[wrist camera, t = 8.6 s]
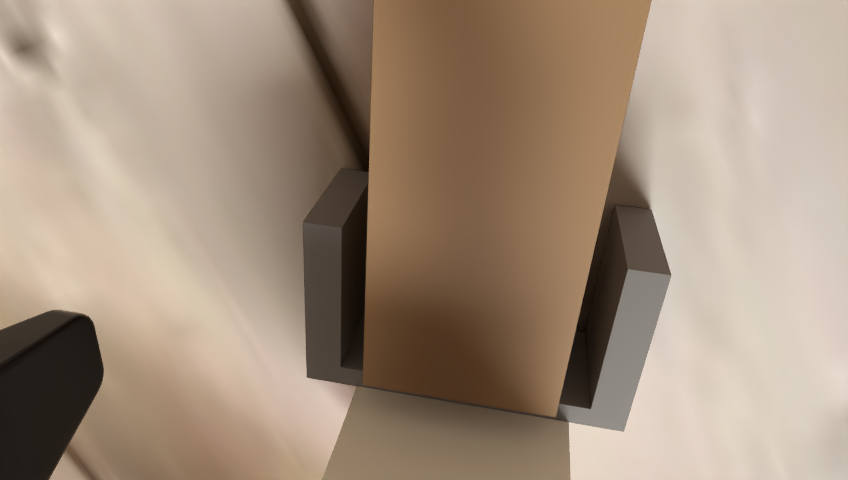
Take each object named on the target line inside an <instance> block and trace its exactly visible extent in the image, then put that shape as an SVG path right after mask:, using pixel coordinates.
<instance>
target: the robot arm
mask: <svg viewBox="0 0 848 480" xmlns="http://www.w3.org/2000/svg"><path fill="white" fill-rule="evenodd" d="M103 373H104V368H103V362H102V358H101V353H100V349H99V344H98V340H97V335H96V331H95V327H94V323H93V321H92V320H91V319H90V318H89V316H87V315H85V314H81V313H75V312H69V311H63V310H51V311H48V312H45V313H43V314H40V315H38V316H35V317H32V318H30V319H27V320H25V321H22V322H19V323H17V324H14V325H12V326H9V327H7V328H4V329H1V330H0V480H49V479H50V477H51V475H52V473H53V471H54V470H55V468H56V466H57V464H58V462H59V461H60V459H61V457H62V455H63V453H64V452H65V450H66V448H67V446H68V444H69V443H70V441H71V439H72V437H73V436H74V434H75V432H76V430H77V428H78V427H79V425H80V423H81V421H82V419H83V418H84V416H85V414H86V412H87V410H88V409H89V407H90V405H91V403H92V401H93V400H94V398H95V396H96V394H97V392H98V391H99V388H100V386H101V383H102V380H103Z"/></svg>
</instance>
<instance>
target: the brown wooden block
mask: <svg viewBox="0 0 848 480" xmlns="http://www.w3.org/2000/svg"><path fill="white" fill-rule="evenodd" d="M650 5H651V0H374V12H373V46H372V81H371V115H370V150H369V185H368V219H367V254H366V288H365V323H364V357H363V385H366V386H372V387H378V388H384V389H390V390H396V391H402V392H408V393H414V394H420V395H426V396H432V397H438V398H444V399H450V400H456V401H462V402H468V403H474V404H480V405H485V406H491V407H497V408H503V409H509V410H515V411H521V412H527V413H533V414H539V415H545V416H551V417H556V414H557V410H558V405H559V401H560V396H561V392H562V388H563V383H564V379H565V375H566V370H567V366H568V362H569V357H570V353H571V349H572V344H573V340H574V336H575V331H576V327H577V322H578V318H579V314H580V309H581V305H582V301H583V296H584V292H585V288H586V283H587V279H588V275H589V270H590V266H591V262H592V257H593V253H594V249H595V244H596V240H597V235H598V231H599V227H600V222H601V218H602V214H603V209H604V205H605V201H606V196H607V192H608V188H609V183H610V179H611V175H612V170H613V166H614V161H615V157H616V153H617V148H618V144H619V140H620V135H621V131H622V127H623V122H624V118H625V114H626V109H627V105H628V101H629V96H630V92H631V87H632V83H633V79H634V74H635V70H636V66H637V61H638V57H639V53H640V48H641V44H642V40H643V35H644V31H645V27H646V22H647V18H648V14H649V9H650Z"/></svg>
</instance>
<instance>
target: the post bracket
mask: <svg viewBox="0 0 848 480" xmlns="http://www.w3.org/2000/svg"><path fill="white" fill-rule="evenodd" d="M368 185H369V172H364V171H357V170H349V169H342V168H341V169H340V171H339V172H338V174H337V175H336V176H335V178H334V179H333V181H332V182H331V183H330V185H329V186H328V188H327V189H326V191H325V192H324V193H323V195H322V196H321V198H320V199H319V200H318V202H317V203H316V205H315V206H314V207H313V209H312V210H311V212H310V213H309V214H308V216H307V217H306V219H305V220H304V222H303V248H304V286H305V325H306V364H307V378H312V379H318V380H324V381H330V382H336V383H342V384H348V385H354V386H357V388H356V391H355V394H354V396H353V399H352V402H351V404H350V407H349V410H348V412H347V415H346V418H345V420H344V423H343V426H342V428H341V431H340V434H339V436H338V439H337V442H336V444H335V447H334V450H333V452H332V455H331V458H330V460H329V463H328V466H327V468H326V471H325V473H324V476H323V479H322V480H570V453H569V423H568V422H571V423H576V424H582V425H588V426H594V427H600V428H606V429H612V430H618V431H623V432H624V429H625V426H626V422H627V419H628V416H629V412H630V409H631V406H632V403H633V399H634V396H635V393H636V389H637V386H638V383H639V380H640V376H641V373H642V370H643V367H644V363H645V360H646V357H647V353H648V350H649V347H650V344H651V340H652V337H653V334H654V330H655V327H656V324H657V321H658V317H659V314H660V311H661V307H662V304H663V301H664V298H665V294H666V291H667V288H668V285H669V281H670V278H671V273H670V269H669V266H668V263H667V260H666V256H665V253H664V250H663V246H662V243H661V240H660V236H659V233H658V230H657V226H656V223H655V220H654V216H653V213H652V210H649V209H642V208H634V207H627V206H619V205H615V209H614V213H613V217H612V221H611V225H610V230H609V234H608V238H607V242H606V246H605V250H604V255H603V259H602V263H601V267H600V271H599V275H598V280H597V284H596V288H595V292H594V296H593V301H592V305H591V309H590V313H589V317H588V321H587V326H586V330H585V332H584V331H578V330H576V331H575V336H574V340H573V344H572V349H571V353H570V357H569V362H568V366H567V370H566V375H565V379H564V383H563V388H562V392H561V396H560V401H559V405H558V410H557V414H556V417H551V416H545V415H539V414H533V413H527V412H521V411H515V410H509V409H503V408H497V407H491V406H485V405H480V404H474V403H468V402H462V401H456V400H450V399H444V398H438V397H432V396H426V395H420V394H414V393H408V392H402V391H396V390H390V389H384V388H378V387H372V386H366V385H363V357H364V323H365V288H366V254H367V219H368Z"/></svg>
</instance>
